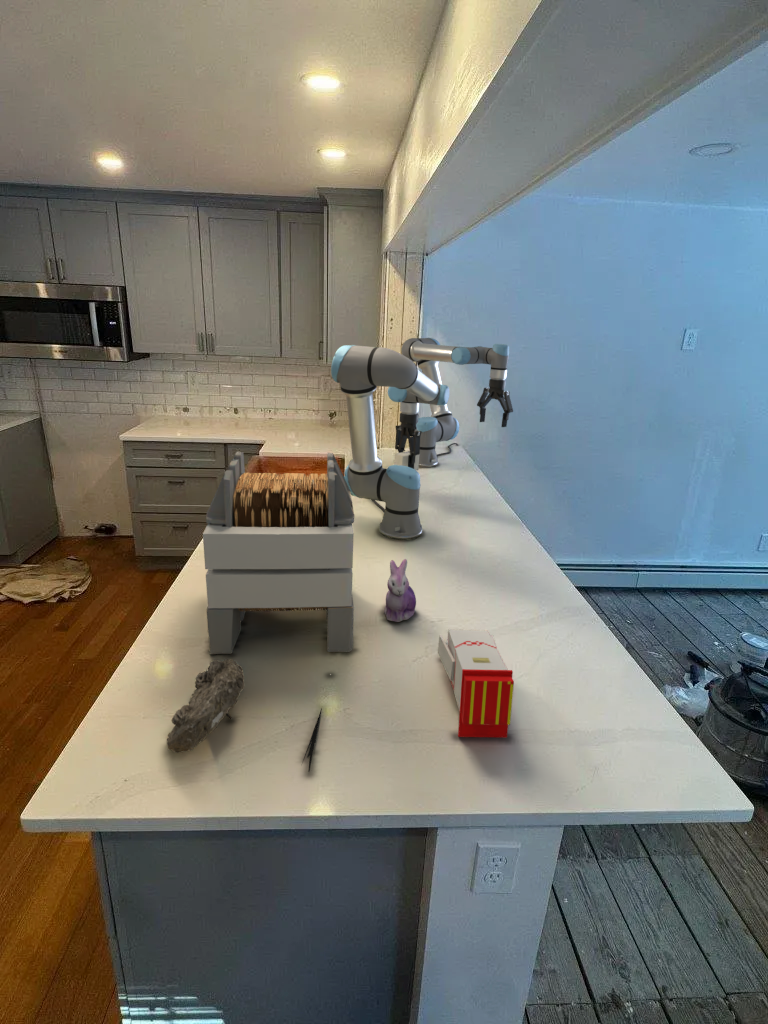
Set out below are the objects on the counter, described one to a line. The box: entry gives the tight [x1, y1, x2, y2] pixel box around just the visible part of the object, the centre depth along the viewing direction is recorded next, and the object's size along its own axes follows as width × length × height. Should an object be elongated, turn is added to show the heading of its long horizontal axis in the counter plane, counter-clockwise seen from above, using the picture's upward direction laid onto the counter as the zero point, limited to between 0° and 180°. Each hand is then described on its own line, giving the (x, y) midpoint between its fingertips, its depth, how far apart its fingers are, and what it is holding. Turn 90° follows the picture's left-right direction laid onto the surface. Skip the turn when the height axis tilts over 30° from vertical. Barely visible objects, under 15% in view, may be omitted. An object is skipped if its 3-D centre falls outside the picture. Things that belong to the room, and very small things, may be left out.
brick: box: [393, 450, 420, 472], centre depth 233 cm, size 9×5×7 cm, turn 128°
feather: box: [301, 673, 332, 771], centre depth 108 cm, size 2×28×2 cm
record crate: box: [202, 451, 355, 655], centre depth 137 cm, size 34×33×41 cm
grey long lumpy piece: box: [166, 658, 245, 754], centre depth 106 cm, size 22×10×15 cm
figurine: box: [384, 558, 417, 623], centre depth 145 cm, size 9×10×15 cm
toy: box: [437, 628, 515, 738], centre depth 117 cm, size 12×13×30 cm
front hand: (406, 468), depth 234 cm, fingers closed on brick, 5 cm apart
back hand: (492, 424), depth 270 cm, fingers open, 13 cm apart
